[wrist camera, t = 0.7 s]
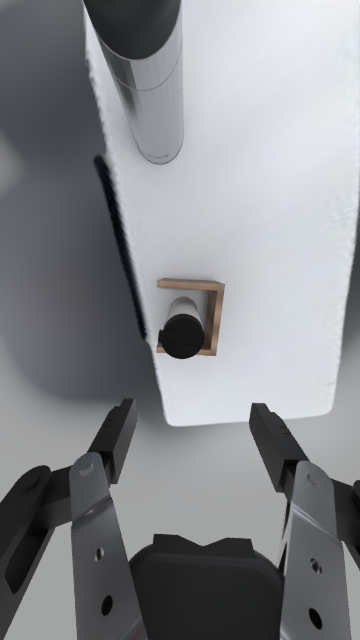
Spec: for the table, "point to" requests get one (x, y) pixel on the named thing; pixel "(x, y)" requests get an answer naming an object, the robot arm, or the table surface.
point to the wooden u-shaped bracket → (212, 310)
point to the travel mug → (182, 330)
